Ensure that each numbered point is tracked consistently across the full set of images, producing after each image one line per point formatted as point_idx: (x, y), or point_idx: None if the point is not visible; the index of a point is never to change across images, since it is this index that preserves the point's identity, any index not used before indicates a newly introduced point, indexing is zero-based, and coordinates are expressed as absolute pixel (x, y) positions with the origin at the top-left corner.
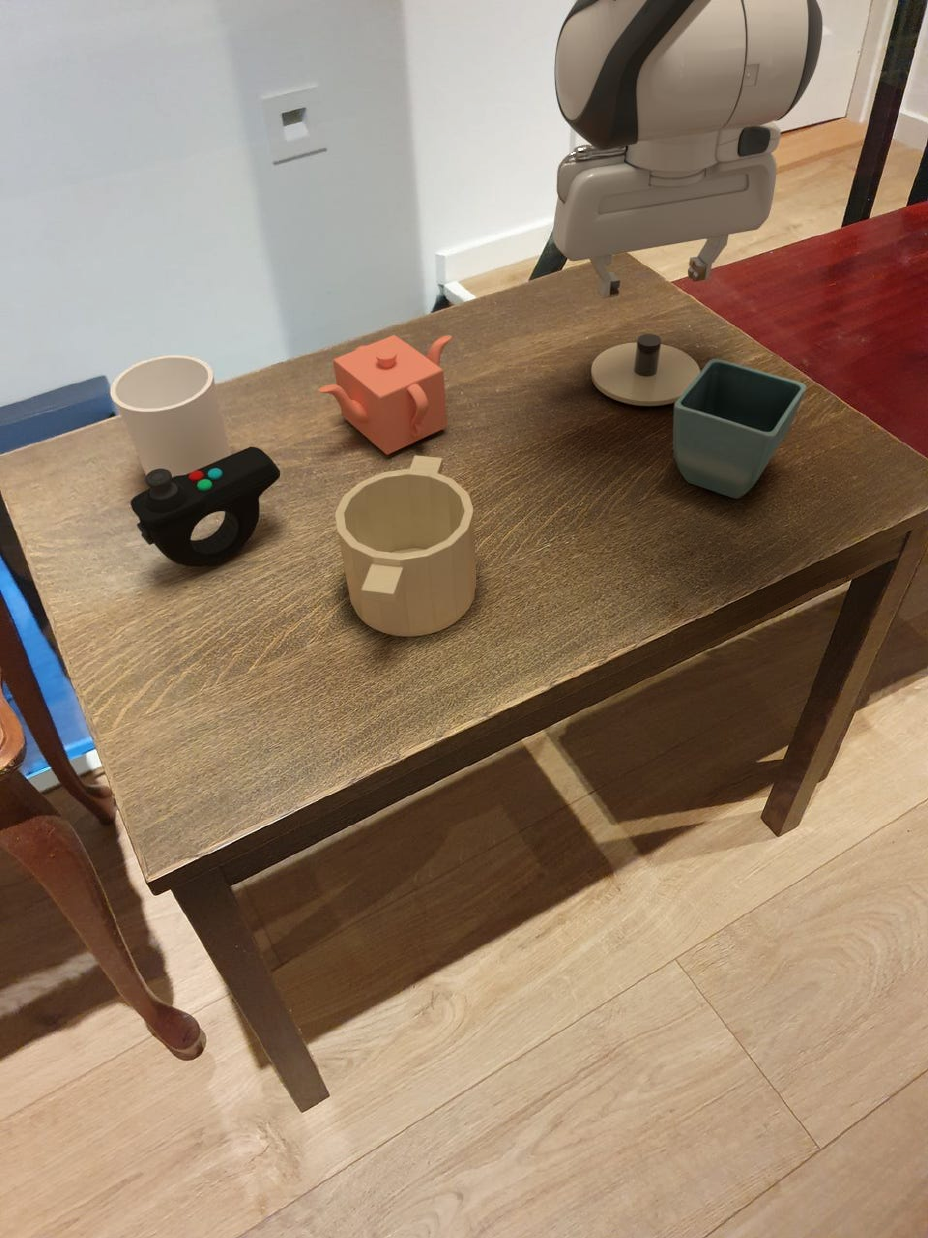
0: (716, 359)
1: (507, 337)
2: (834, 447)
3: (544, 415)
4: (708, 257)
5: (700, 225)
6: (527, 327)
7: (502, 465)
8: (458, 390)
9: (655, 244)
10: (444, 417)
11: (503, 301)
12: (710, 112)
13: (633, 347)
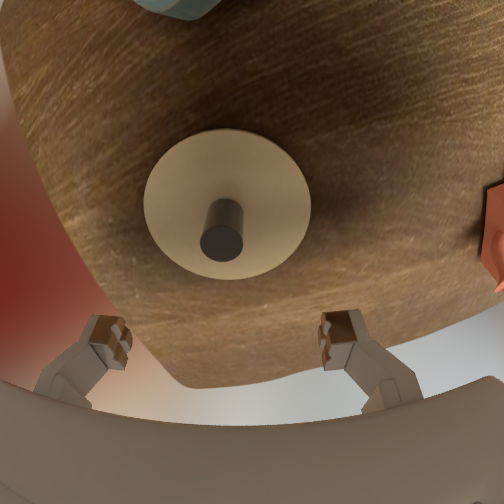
0: (153, 5)
1: None
2: (43, 25)
3: (393, 172)
4: (83, 357)
5: (85, 450)
6: None
7: (469, 104)
8: (440, 251)
9: (248, 436)
10: (496, 195)
11: (318, 365)
12: None
13: (223, 269)
